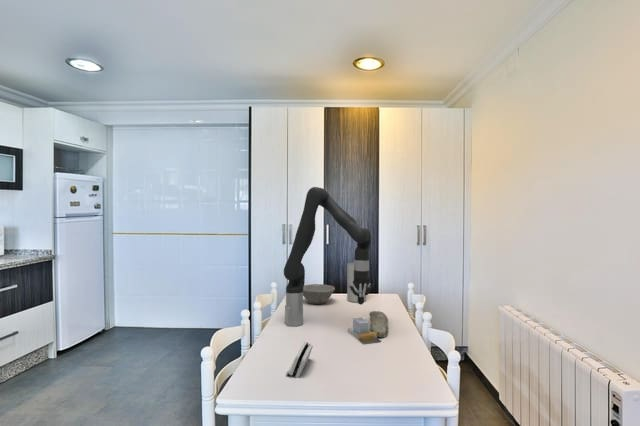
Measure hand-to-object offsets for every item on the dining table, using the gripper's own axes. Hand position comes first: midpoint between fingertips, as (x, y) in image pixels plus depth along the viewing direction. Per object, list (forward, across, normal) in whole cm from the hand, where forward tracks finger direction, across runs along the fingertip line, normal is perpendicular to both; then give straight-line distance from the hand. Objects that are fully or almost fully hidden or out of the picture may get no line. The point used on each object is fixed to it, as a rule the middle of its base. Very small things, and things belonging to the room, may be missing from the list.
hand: (360, 304), depth 169 cm
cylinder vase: (+16, +25, +59) cm, 66 cm away
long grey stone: (+15, +14, +8) cm, 22 cm away
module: (+15, 0, 0) cm, 15 cm away
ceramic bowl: (+16, -2, +62) cm, 64 cm away
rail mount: (+15, 0, -3) cm, 15 cm away
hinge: (+16, -37, -25) cm, 48 cm away
